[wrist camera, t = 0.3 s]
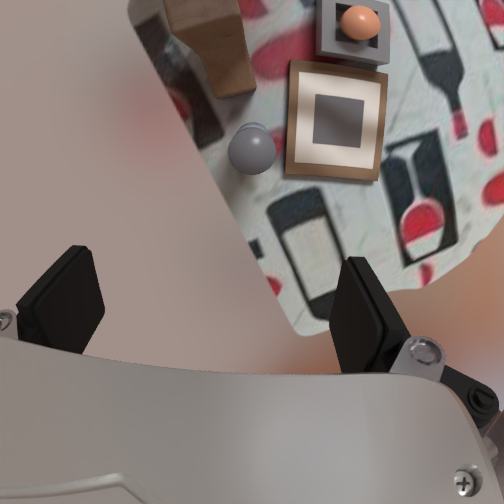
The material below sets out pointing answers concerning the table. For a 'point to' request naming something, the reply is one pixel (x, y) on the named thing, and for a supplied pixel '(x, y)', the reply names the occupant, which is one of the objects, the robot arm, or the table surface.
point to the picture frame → (335, 120)
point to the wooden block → (215, 42)
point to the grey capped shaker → (252, 149)
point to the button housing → (339, 46)
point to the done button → (359, 23)
